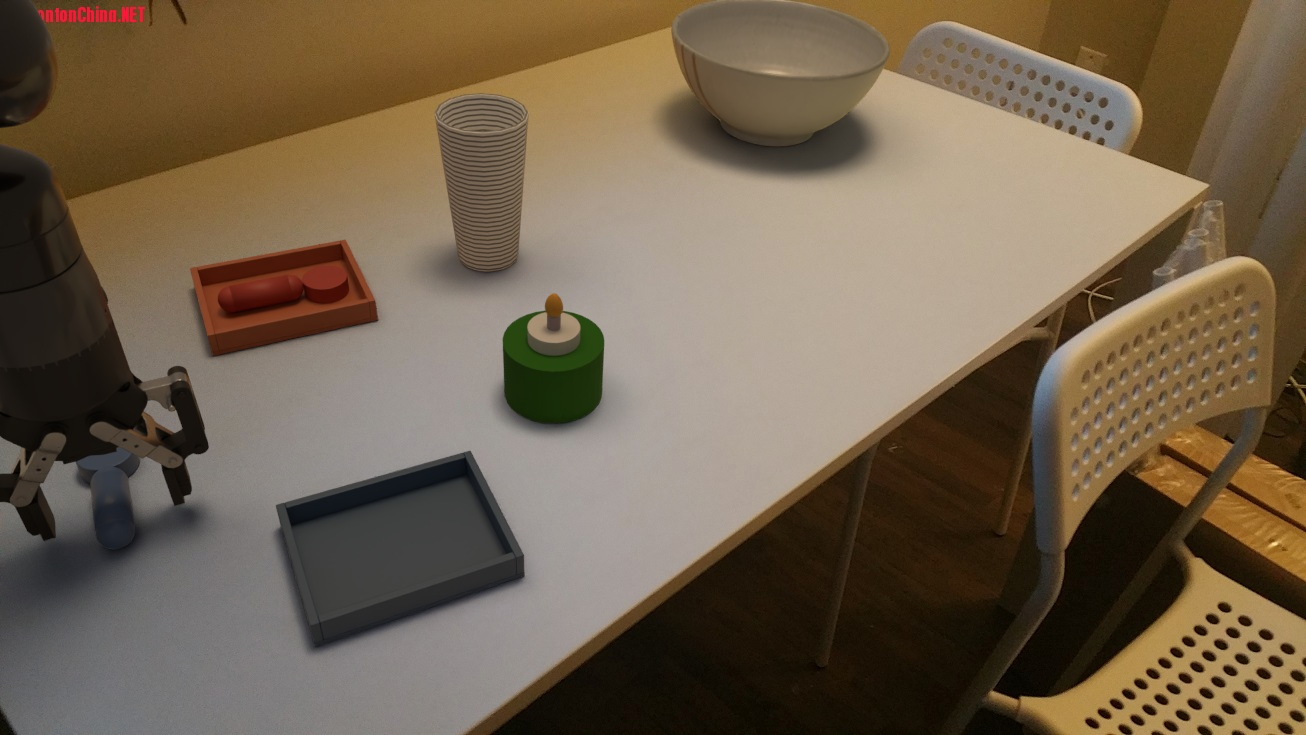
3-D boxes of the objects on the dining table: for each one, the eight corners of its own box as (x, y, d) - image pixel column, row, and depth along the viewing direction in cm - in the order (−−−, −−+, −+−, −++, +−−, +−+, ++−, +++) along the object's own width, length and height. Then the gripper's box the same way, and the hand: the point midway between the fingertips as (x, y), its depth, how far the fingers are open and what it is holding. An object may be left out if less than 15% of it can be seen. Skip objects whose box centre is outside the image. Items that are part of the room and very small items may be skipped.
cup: (545, 267, 99) (544, 122, 89) (465, 287, 95) (455, 139, 85) (509, 227, 104) (505, 87, 94) (432, 245, 100) (420, 101, 91)
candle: (541, 349, 88) (541, 254, 82) (620, 383, 85) (626, 287, 79) (484, 398, 82) (479, 300, 76) (566, 437, 79) (567, 338, 73)
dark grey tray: (315, 647, 63) (309, 625, 61) (280, 525, 70) (275, 504, 69) (524, 575, 68) (524, 554, 67) (471, 470, 76) (470, 449, 74)
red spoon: (224, 325, 87) (218, 302, 86) (217, 300, 90) (211, 279, 88) (353, 298, 92) (350, 276, 90) (343, 276, 94) (340, 254, 93)
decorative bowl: (624, 131, 124) (629, 36, 116) (725, 68, 142) (735, -17, 135) (818, 196, 114) (837, 97, 106) (900, 120, 132) (921, 31, 125)
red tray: (212, 356, 84) (207, 335, 83) (195, 287, 92) (189, 267, 91) (378, 320, 90) (375, 300, 89) (348, 258, 98) (345, 239, 96)
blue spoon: (153, 546, 68) (144, 522, 67) (89, 564, 66) (78, 541, 65) (137, 442, 76) (129, 419, 74) (79, 456, 74) (69, 433, 73)
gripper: (-110, 391, 53) (-3, 586, 63) (177, 332, 58) (233, 520, 69) (-100, 315, 58) (-2, 507, 68) (163, 267, 64) (217, 451, 74)
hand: (116, 513), depth 68 cm, fingers open, 7 cm apart
